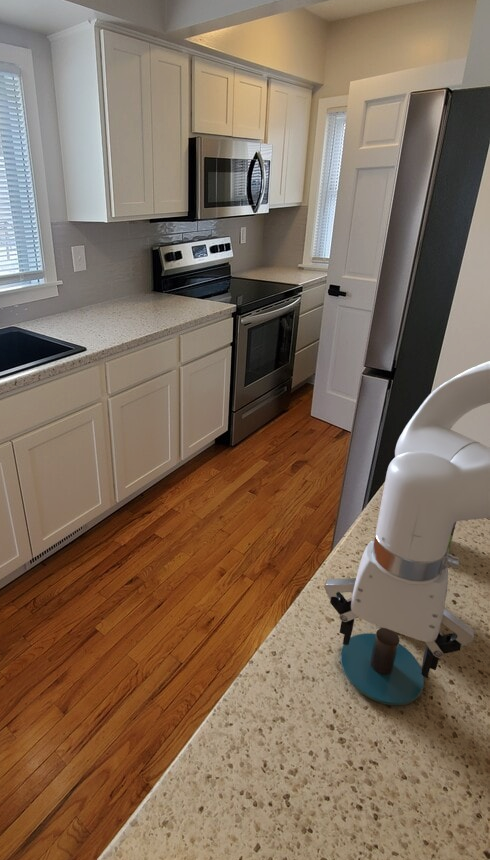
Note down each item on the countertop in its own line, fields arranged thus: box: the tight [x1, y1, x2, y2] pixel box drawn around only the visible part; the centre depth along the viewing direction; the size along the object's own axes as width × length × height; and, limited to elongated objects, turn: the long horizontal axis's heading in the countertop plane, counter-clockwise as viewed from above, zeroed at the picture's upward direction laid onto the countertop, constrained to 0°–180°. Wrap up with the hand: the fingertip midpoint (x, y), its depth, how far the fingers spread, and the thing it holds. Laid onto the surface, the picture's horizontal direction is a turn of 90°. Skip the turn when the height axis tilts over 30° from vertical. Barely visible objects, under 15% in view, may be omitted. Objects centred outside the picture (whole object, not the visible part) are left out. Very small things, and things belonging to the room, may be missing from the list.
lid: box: [339, 627, 425, 706], centre depth 65 cm, size 10×10×7 cm
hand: (384, 652), depth 65 cm, fingers open, 9 cm apart
